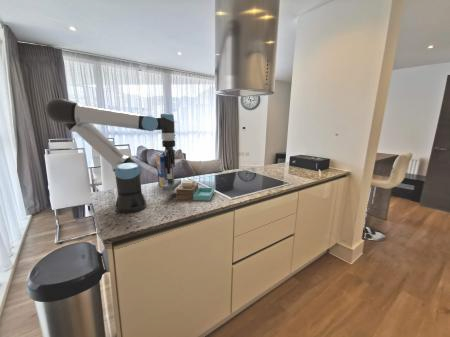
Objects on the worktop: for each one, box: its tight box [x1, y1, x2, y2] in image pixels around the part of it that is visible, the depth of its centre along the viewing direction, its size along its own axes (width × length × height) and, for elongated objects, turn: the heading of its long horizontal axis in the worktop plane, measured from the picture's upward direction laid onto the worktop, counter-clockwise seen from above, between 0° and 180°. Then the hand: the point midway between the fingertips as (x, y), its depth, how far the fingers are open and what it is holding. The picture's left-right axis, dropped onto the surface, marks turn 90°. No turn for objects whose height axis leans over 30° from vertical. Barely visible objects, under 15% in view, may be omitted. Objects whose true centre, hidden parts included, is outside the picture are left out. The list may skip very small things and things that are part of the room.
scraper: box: [162, 164, 182, 192], centre depth 129 cm, size 16×6×14 cm, turn 174°
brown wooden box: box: [175, 182, 199, 201], centre depth 130 cm, size 14×10×6 cm
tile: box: [181, 179, 195, 188], centre depth 130 cm, size 6×6×3 cm
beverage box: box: [155, 154, 168, 188], centre depth 151 cm, size 7×11×22 cm, turn 34°
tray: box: [193, 187, 215, 201], centre depth 130 cm, size 15×10×3 cm, turn 174°
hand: (170, 177), depth 130 cm, fingers closed on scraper, 3 cm apart
